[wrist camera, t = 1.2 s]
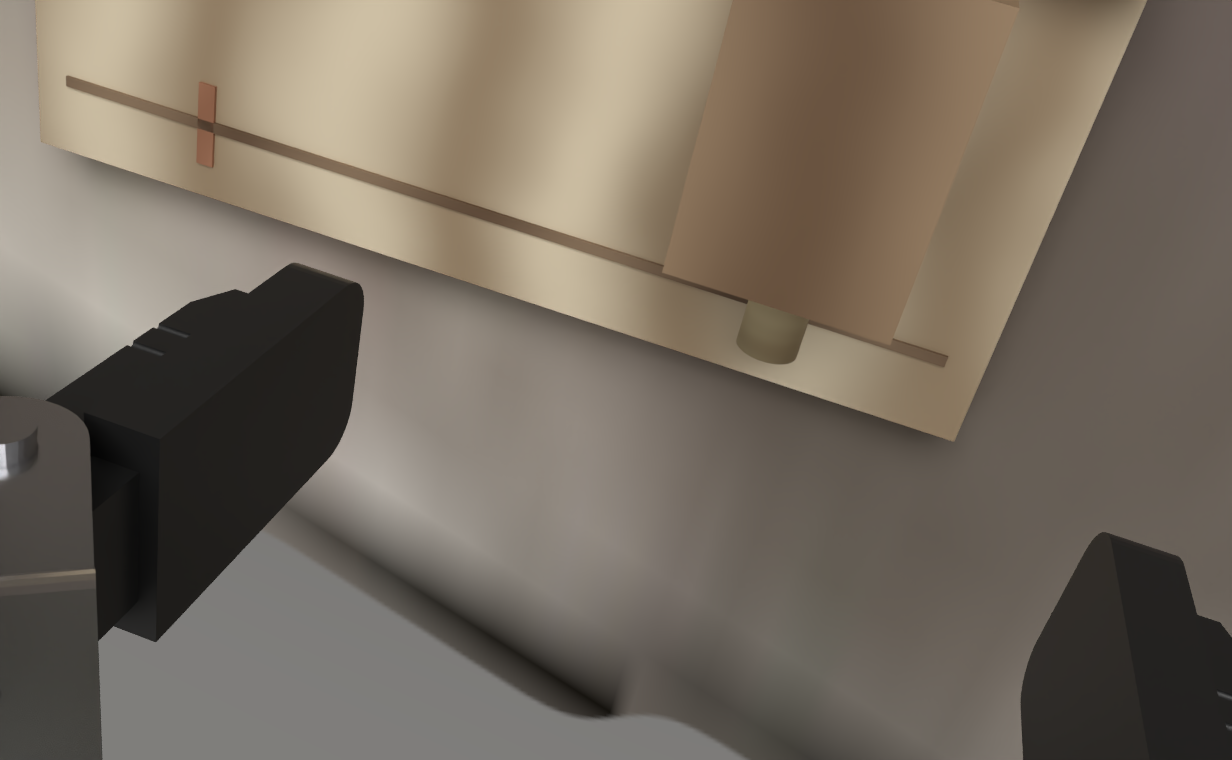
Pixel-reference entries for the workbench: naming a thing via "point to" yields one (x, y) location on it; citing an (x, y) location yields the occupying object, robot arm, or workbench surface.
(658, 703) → the workbench surface
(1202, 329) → the workbench surface
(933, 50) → the brown boxy piece
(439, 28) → the maple board
